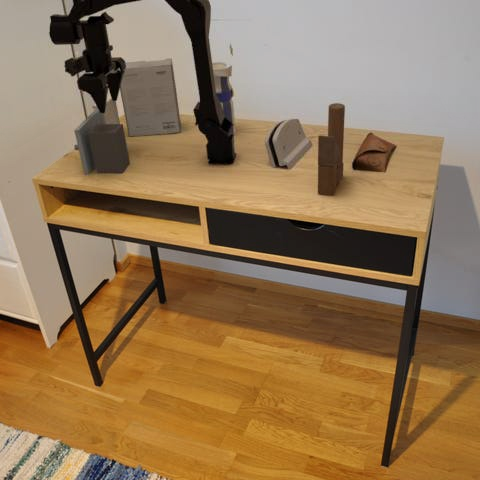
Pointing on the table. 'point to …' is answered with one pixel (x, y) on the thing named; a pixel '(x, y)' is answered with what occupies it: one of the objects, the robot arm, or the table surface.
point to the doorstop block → (109, 148)
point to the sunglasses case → (373, 154)
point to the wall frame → (109, 112)
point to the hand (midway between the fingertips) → (108, 106)
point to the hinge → (287, 143)
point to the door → (87, 140)
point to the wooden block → (331, 151)
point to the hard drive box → (150, 98)
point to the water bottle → (225, 89)
